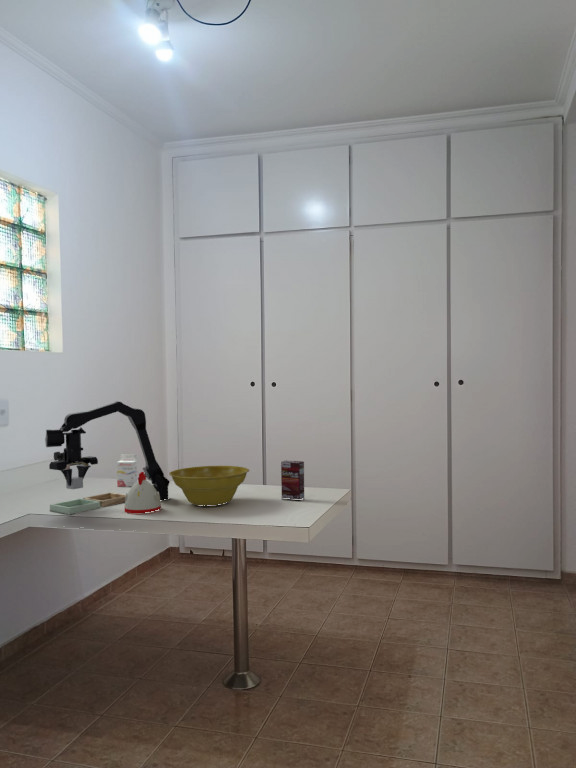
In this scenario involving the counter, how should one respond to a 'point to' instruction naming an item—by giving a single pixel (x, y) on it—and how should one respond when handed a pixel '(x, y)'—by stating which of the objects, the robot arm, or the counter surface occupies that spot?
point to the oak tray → (107, 499)
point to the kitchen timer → (142, 497)
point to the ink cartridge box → (127, 470)
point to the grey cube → (75, 483)
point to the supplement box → (292, 479)
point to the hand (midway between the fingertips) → (74, 484)
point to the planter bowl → (209, 483)
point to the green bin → (74, 506)
